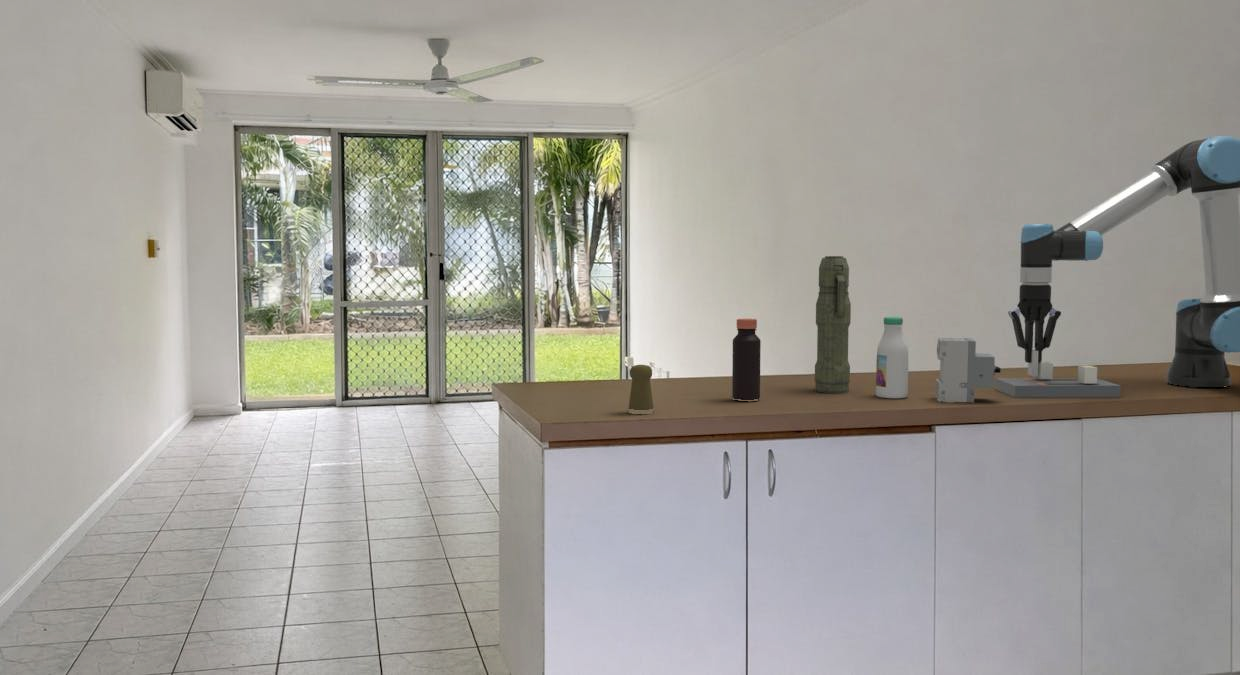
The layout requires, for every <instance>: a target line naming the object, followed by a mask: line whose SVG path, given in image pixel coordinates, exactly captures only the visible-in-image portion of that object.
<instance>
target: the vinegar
mask: <svg viewBox="0 0 1240 675" xmlns="http://www.w3.org/2000/svg"><path fill="white" fill-rule="evenodd" d="M757 325H758V320H757V319H756V318H737V319H736V331H737V334H736V336H735V337H734V338H732V373H731V374H732V379H731V380H732V388H731V389H732V390H731V392H732V393H731V394H732V398H734V399H741V400H754V399H759V398H760V399H761V346H762V345H761V344H762V342H761V338H760V337H759V336H758V335H757V334H756V331H757V330H758V329H757Z"/></svg>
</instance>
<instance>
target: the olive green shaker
mask: <svg viewBox="0 0 1240 675" xmlns="http://www.w3.org/2000/svg"><path fill="white" fill-rule="evenodd" d="M629 377H630V379H631V387H630V393H629V402H628V409H634V410H649V409H653V408H654V399H653V393H652V386H651V385H652V384H651V378H652V377H653V369H652V367H651V366H649V365H646V364H636V365H632V366H631V367H630V369H629Z"/></svg>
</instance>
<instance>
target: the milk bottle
mask: <svg viewBox="0 0 1240 675" xmlns="http://www.w3.org/2000/svg"><path fill="white" fill-rule="evenodd" d="M903 322H904V319H903V317H901V316H884V317H883V327H884V330H883V334H882V336H881V338H880V341H879V343H878V346H877V351H876V364H875V365H876V374H875V376H876V377H875V378H876V379H875V380H876V381H875V395H876V397H877V398H882V399H883V398H884V399H905V398H907V397H908V395H909V394H908V393H909V387H908V386H909V347H908V345H907V342H906V339H905V337H904V334H903V330H902V328H903V326H904V325H903Z"/></svg>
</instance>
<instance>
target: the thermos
mask: <svg viewBox="0 0 1240 675" xmlns="http://www.w3.org/2000/svg"><path fill="white" fill-rule="evenodd" d="M849 278H850V266H849V263H848V259H847V258H846V257H844V256H843V255H841V256H840V255H836V256H835V255H834V256H833V255H832V256H831V255H830V256H828V255H826V256H824V257H822V258H821V260H820V264H819V267H818V287H819V288H818V290H819V291H818V296H817V300H816V303H815V325H816V327H817V330H816V331H817V332H816V333H817V335H816V336H817V339H816V340H817V342H816V344H817V345H816V347H817V349H816V350H817V352H816V362H815V365H814V382H815V388H814V390H816V391H818V392H817V393H821V392H823V393H822V394H847V393H849V392H850V387H849V386H850V381H851V379H850V378H851V366H850V363H849V328H850V325H851V320H852V319H851V311H852V308H851V307H852V305H851V304H852V303H851V301H850V295H849V287H850V286H849V284H850V279H849ZM816 391H815V392H816Z"/></svg>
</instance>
